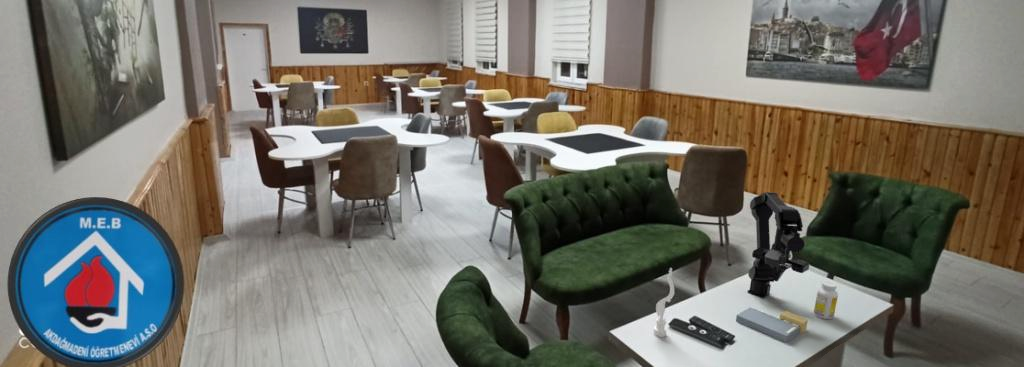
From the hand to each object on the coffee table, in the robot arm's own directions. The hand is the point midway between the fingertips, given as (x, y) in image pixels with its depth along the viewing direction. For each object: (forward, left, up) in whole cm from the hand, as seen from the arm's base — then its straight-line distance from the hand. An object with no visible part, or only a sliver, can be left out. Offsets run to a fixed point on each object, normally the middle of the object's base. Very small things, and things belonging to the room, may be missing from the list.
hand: (776, 281), depth 208 cm
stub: (+11, -6, -12) cm, 17 cm away
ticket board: (+5, -14, -12) cm, 19 cm away
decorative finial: (-15, -49, -12) cm, 53 cm away
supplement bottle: (+14, +12, -12) cm, 22 cm away
